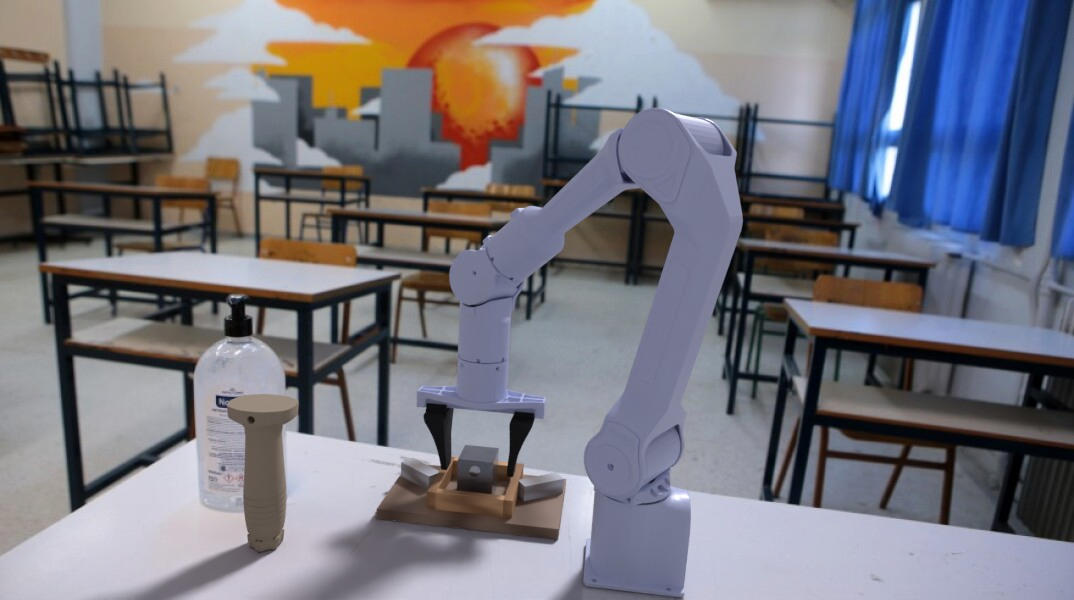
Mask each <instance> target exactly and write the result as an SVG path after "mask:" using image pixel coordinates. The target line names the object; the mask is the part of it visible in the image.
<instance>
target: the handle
mask: <svg viewBox="0 0 1074 600" xmlns="http://www.w3.org/2000/svg"><path fill="white" fill-rule="evenodd" d="M226 408H227V418H228V419H229V420H231V421H233V422H235V423H237V424H238V425H241V426H242V427H243V429H244V436H245V437H244V438H245V439H244V440H245V441H244V465H243V466H244V471H243V490H242V491H243V494H242V497H243V500H242V501H243V514H244V520H245V526H246V531H247V535H246V536H247V537H246V538H247V543H248V545H249V547H250V548H254V550H255V551H257V552H259V553H261V552H264V551H268V550H276V549H277V548H278V547H279V544H281V543H282V542H283V541H284V537H285V529H284V526H285V523H286V522H285V521H286V515H287V480H286V470H285V469H286V468H285V458H284V442H283V427H284V425H285V424H288V423H289V422H291V421H292V420H293V419H295V418H296V417H297V416H298V414H299V400H298V399H297V398H294V397H290V396H287V395H281V394H271V393H264V394H263V393H258V394H255V393H253V394H244V395H240V396H237V397H234V398H233V399H230V401H228V402H227V407H226Z"/></svg>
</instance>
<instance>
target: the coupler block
mask: <svg viewBox="0 0 1074 600" xmlns="http://www.w3.org/2000/svg"><path fill="white" fill-rule="evenodd" d="M499 450H500V449H499V447H490V446H480V445H471V444H470V445H469V444H465V445H464V447H463V448H462V451H461V452H460V454H459V456H458V457H459V458H458V473H457V491H466V492H475V493H485V494H495V491H496V488H497V473H498V461H499V452H500V451H499Z"/></svg>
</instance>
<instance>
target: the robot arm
mask: <svg viewBox="0 0 1074 600" xmlns="http://www.w3.org/2000/svg"><path fill="white" fill-rule="evenodd" d="M737 155H738V153H737V150H736V149H735V148H734V146H733V145H732V143H731V141H730V140H729V138H728V137H727V135H726V134H725V133H724V132H723V130H722V129H721V127H720V126H719V125H718V124H717V123H716V122H714V121H712V120H710V119H708V118H705V117H697V116H694V117H693V116H688V115H684V114H681V113H680V114H679V113H676V112H675V113H674V112H673V111H671V110H668V109H666V108H662V107H650V108H646V109H644V110H641V111H639V112H638V113H635V115H633V116H632V117H631V118H630V119H629V120H628V122H627V123H626V124H625V126H624V127H620V128H619V129H617V130H615V131H614V132H612V133H611V134H609V136H608V137H607V140H606V142H605V143H604V144H603V147H602V149H600V150H599V152H597V154H596V155H594V157H593V158H592V159H590V160H589V162H588V163H587V164H586V165H585V166H584V167H582V168H581V169H580V170H579V171H578V173H577V174H575V175H574V176H573V177H572V178H571V179H570V180H569V181H568V182H567V183H565V185H564V186H563V187H562V188H561V189H559V191H558V192H557V193H556V194H555V195H554V196H553V197H551V199H550V200H549V201H548V202H546V204H545V205H544V206H543V207H540V206H536V205H529V206H526V207H517V208H515V209H514V210H513V211H511V212H510V214H509V217H510V219H511V220H509V221H508V222H507V223H506V224H505V225H504V226H503V227H501V229H499V230H498V231H497V232H496V233H494V235H487V236H486V237H485V238H484V239H483V240H482V245H481V246H480V248H478V249H476V250H475V249H464V250H461V251H460V252H458V254H457V256H456V257H455V258H454V260H453V261H452V263H451V265H450V268H449V275H448V276H449V277H448V278H449V285H450V288H451V291H452V293H453V294H454V296H455V298H456V299H457V300H458V301H459V310H458V311H459V316H458V337H457V338H458V340H457V341H458V343H457V344H458V345H457V365H456V367H457V370H456V371H457V372H456V385H444V386H443V385H441V386H440V385H439V386H434V385H433V386H432V385H431V386H430V385H429V386H428V385H420V387H419V388H418V390H416V408H424V409H425V413H423V416H422V417H423V422H424V424H425V426H426V428H427V429H428V430H429V433H430V434H431V437H432V439H433V441H434V445H435V447H436V450H437V454H438V458H439V466H441V470H447V469H448V467H449V465H450V463H451V456H452V429H453V418H454V409H455V410H456V409H459V410H467V411H468V410H469V411H476V412H477V411H478V412H479V411H480V412H489V413H501V414H509V415H510V414H512V417H511V419H510V422H509V451H508V459H507V462H508V466H507V477H513V476H514V473H515V468H516V463H518V459H519V458H518V457H519V455H520V451H521V449H522V447H523V445H524V442H525V441H526V439H527V437H528V436H529V434H530V432H531V430H532V429H533V426H534V423H535V419H540V420H544V419H545V414H546V408H547V407H546V406H547V405H546V404H547V397H546V396H538V395H532V394H528V393H523V392H519V391H514V390H511V389H508V384H509V383H508V381H509V363H510V346H511V345H510V344H511V343H510V342H511V325H512V322H511V321H512V314H513V311H515V306H516V305H515V303H516V299H517V298H518V296H519V294H520V293H521V292H522V290H523V288H524V285H525V281H526V279H529V277H530V276H532V275H533V274H534V273H536V271H538V270H539V269H540V268H541V267H543V266H544V265H545V264H547V263H548V262H549V261H551V260H552V259H553V258H554V257H556V256H557V255H558V254H560V253H561V252H562V250H563V249H564V246H565V235H566V232H568V231H570V230H571V229H572V228H574V227H575V226H576V225H578V224H579V223H581V222H582V221H583V220H585V219H586V218H588V217H589V216H591V215H592V214H593V213H594V212H596V211H598V210H599V209H600V208H602V207H604V205H606V204H607V203H608V202H610V201H611V200H612V199H614V198H615V197H616V196H618V195H620V194H621V193H623V192H624V191H627V190H634V189H641V190H642V191H644V192H645V193H646V194H647V195H648V196H649V197H651V198H652V199H653V200H654V201H655V202H656V203H657V204H658V205H659V207H660V208H661V210H662V212H663V213H664V215H665V216H666V218H667V220H668V221H669V223H670V225H671V227H672V228H673V231H674V232H673V233H674V234H673V237H672V240H671V243H670V246H669V250H668V252H667V256H666V259H665V261H664V265H663V269H662V272H661V274H660V278H659V281H658V284H657V286H656V290H655V293H654V297H653V299H652V303H651V306H650V309H649V313H648V316H647V319H646V321H645V324H644V328H643V331H642V334H641V338H640V341H639V343H638V347H637V349H636V350H637V351H636V354H635V357H634V360H633V363H632V365H631V369H630V372H629V376H628V378H627V382H626V385H625V388H624V390H623V392H622V393H621V395H620V396H619V397H618V399H616V401H615V403H614V404H613V405H612V406H611V408H610V409H609V410H608V412H607V413H606V414H605V416H604V419H603V421H602V425H601V427H600V430H599V431H598V432H597V433H596V434H594V435H593V436H592V437H591V438H590V439H589V441H588V442H587V444H586V446H585V448H584V452H583V466H584V470H585V472H586V475H587V477H588V479H589V480H590V482H591V484H592V485H593V491H594V493H593V494H594V495H593V496H594V497H593V509H592V521H591V531H590V537H589V538H586V540H585V551H584V552H585V554H584V555H585V556H584V568H583V582H582V583H583V584H584V585H585V586H586V587H590V588H591V587H592V588H599V589H606V590H607V589H608V590H609V589H610V590H615V591H623V592H624V591H625V592H632V593H633V592H634V593H643V594H651V595H657V596H668V597H676V598H683V597H684V596H685V580H686V573H687V572H686V571H687V562H688V555H689V545H690V544H689V543H690V535H691V524H692V522H691V520H692V519H691V518H692V516H691V515H692V513H691V512H692V509H691V508H692V506H691V495H690V493H689V491H688V490H686V489H683V488H679V487H675V486H672V485H671V478H670V477H671V468H673V467H675V466H676V465H677V464H678V463H679V462H680V461H681V459H682V458H683V454H684V453H685V436H684V424H685V420H686V419H687V418H686V417H687V415H688V412H687V410H686V408H685V407H684V406H683V405H682V401H683V397H684V394H685V393H686V389H687V386H688V384H689V381H690V378H691V376H692V373H693V370H694V366H695V364H696V361H697V358H698V354H699V352H700V349H701V346H702V344H703V341H704V338H705V336H706V335H705V334H706V332H707V329H708V326H709V324H710V320H711V318H712V314H713V312H714V309H715V307H716V303H717V300H718V298H719V295H720V292H721V289H722V287H723V284H724V281H725V278H726V275H727V272H728V269H729V267H730V264H731V260H732V257H733V255H734V252H735V249H736V247H737V243H738V241H739V238H740V234H741V232H742V228H743V222H744V219H743V212H742V205H741V198H740V194H739V193H740V192H739V186H738V182H737V177H736V175H737V174H736V171H735V167H736V166H735V165H736V161H737Z"/></svg>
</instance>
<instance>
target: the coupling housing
mask: <svg viewBox="0 0 1074 600" xmlns="http://www.w3.org/2000/svg"><path fill="white" fill-rule="evenodd" d="M458 458H459V456H452V455H451V463H450V465H449V467H448V469H447V470H441V465H435V464H426V463H424V462H422V461H421V460H419V459H417V458H414V457H411V458H408V459H405V460H403V461H402V460H401V462H400V474H399V476H398V478H397V479H396V481H394V483H393V485H392V486H391V487H390V489H389V490H388V492H387V493H386V495H385V496H384V497H383V499H382V500H381V502H380V503H379V505H378V506H377V508H376V515H375V516H376V520H382V521H391V522H399V523H409V524H410V523H411V524H417V525H426V526H427V525H429V526H435V527H442V528H443V527H444V528H453V529H462V530H469V531H470V530H471V531H472V530H473V531H480V532H489V533H499V534H507V535H517V536H524V537H525V536H526V537H532V538H533V537H534V538H540V539H541V538H543V539H551V540H552V539H553V540H559V535H560V528H561V521H562V516H563V508H564V500H565V493H566V485H567V478H563V477H562V476H561V475H560V474H558V472H553V473H546V474H541V475H533V474H532V475H531V474H524V469H525V468H524V463H519V462H516V468H515V473H514V476H513V477H507V466H508V461H501V460H500V461H499V460H498V473H497V488H496V491H495V494H485V493H475V492H466V491H457V473H458Z"/></svg>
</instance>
